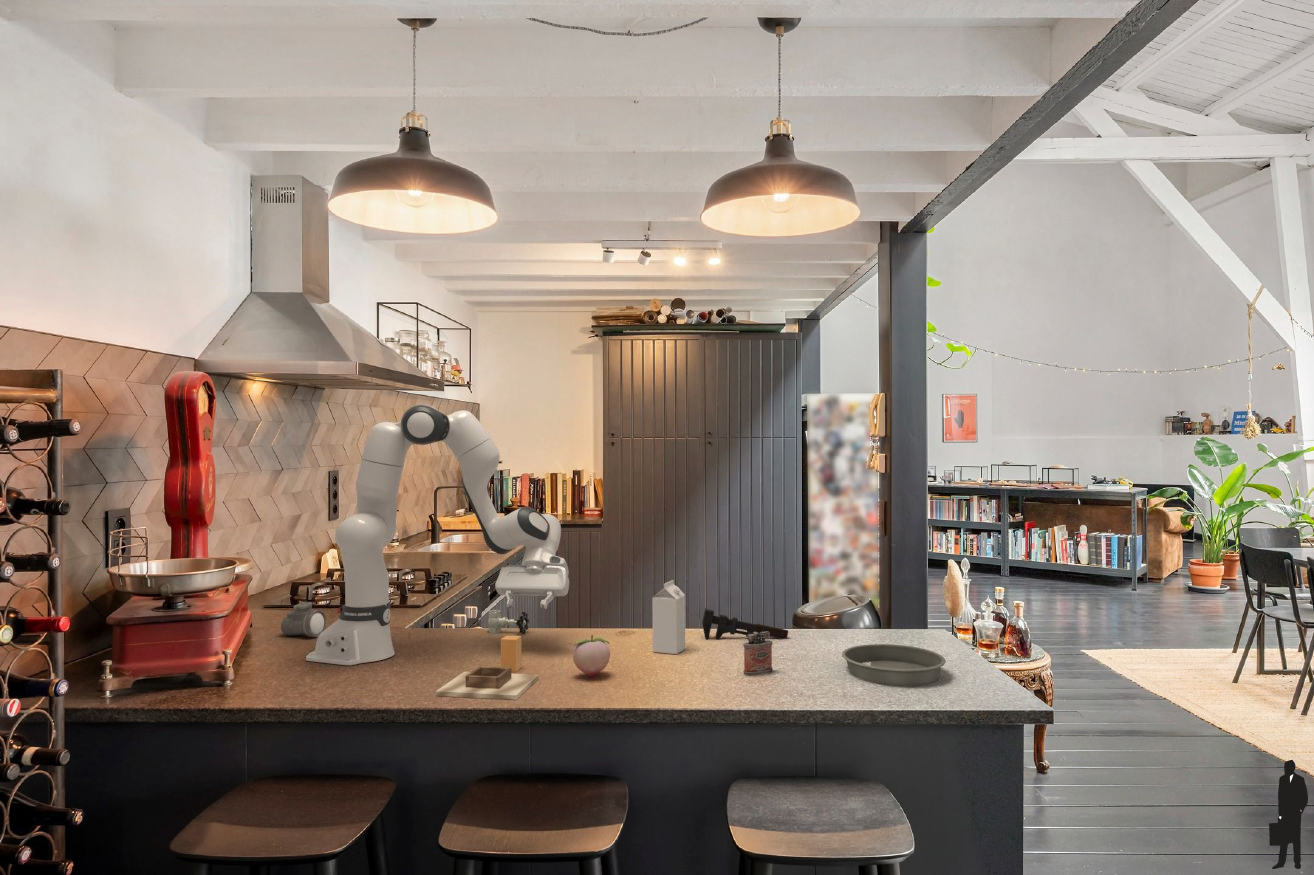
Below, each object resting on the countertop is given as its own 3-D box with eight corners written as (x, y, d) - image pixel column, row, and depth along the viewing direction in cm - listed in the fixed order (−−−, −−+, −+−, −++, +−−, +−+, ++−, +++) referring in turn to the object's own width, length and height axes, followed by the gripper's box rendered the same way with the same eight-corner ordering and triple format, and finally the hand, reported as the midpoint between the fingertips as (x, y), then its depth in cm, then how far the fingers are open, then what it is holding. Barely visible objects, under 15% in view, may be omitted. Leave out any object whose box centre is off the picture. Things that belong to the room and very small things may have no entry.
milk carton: (652, 652, 210) (652, 583, 210) (661, 646, 216) (661, 579, 217) (676, 655, 207) (676, 584, 207) (685, 648, 214) (685, 580, 214)
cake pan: (913, 658, 204) (913, 641, 204) (966, 685, 179) (966, 666, 180) (826, 662, 200) (826, 645, 200) (868, 691, 175) (868, 672, 175)
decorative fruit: (583, 683, 181) (582, 641, 182) (568, 675, 188) (568, 634, 189) (617, 677, 186) (617, 636, 187) (601, 669, 193) (601, 629, 194)
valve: (484, 634, 232) (521, 636, 229) (484, 612, 232) (521, 614, 230) (492, 629, 238) (529, 631, 236) (492, 608, 238) (529, 609, 236)
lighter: (748, 676, 186) (748, 635, 187) (740, 673, 189) (740, 632, 190) (775, 672, 190) (775, 631, 190) (767, 668, 193) (767, 629, 193)
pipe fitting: (330, 632, 233) (325, 599, 233) (312, 640, 225) (307, 606, 225) (297, 634, 236) (292, 602, 236) (278, 643, 228) (273, 609, 228)
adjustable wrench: (783, 656, 224) (699, 638, 224) (782, 653, 227) (699, 636, 227) (789, 627, 224) (705, 610, 224) (787, 625, 227) (705, 608, 227)
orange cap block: (500, 671, 192) (500, 639, 192) (506, 666, 196) (506, 635, 196) (516, 671, 192) (516, 639, 192) (521, 667, 195) (521, 636, 196)
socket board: (435, 695, 173) (435, 680, 173) (464, 675, 188) (464, 661, 189) (516, 699, 170) (516, 683, 170) (538, 678, 185) (538, 664, 185)
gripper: (499, 557, 215) (486, 599, 205) (570, 559, 212) (560, 601, 202) (505, 571, 219) (492, 612, 209) (574, 572, 216) (564, 614, 206)
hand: (526, 606), depth 206 cm, fingers open, 8 cm apart
